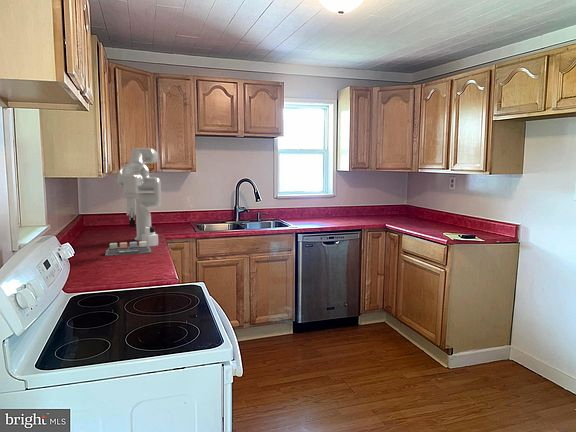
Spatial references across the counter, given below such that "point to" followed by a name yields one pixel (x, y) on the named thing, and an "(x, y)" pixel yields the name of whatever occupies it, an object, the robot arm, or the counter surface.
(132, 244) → the slate key
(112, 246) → the sage key
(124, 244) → the terracotta key
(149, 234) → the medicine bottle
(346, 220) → the counter surface
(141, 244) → the cream key
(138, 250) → the keypad board
